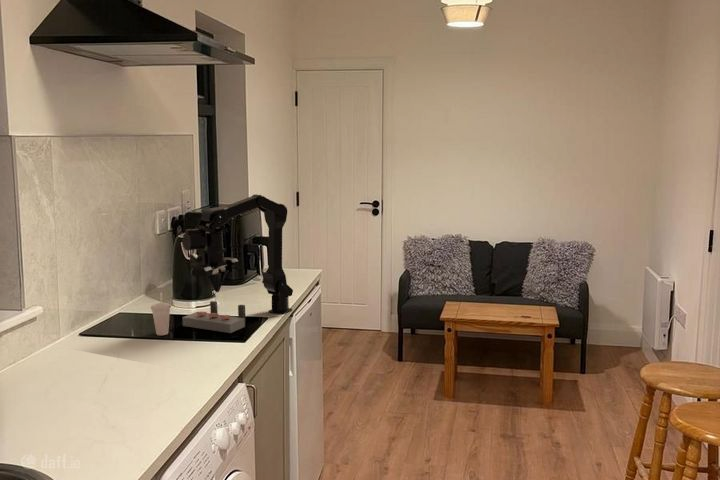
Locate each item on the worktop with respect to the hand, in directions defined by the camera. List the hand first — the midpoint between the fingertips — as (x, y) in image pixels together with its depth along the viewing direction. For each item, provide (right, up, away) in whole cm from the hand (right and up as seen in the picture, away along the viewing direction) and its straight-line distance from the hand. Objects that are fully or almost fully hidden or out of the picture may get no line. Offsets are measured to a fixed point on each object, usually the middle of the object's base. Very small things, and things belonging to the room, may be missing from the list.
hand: (216, 291), depth 241 cm
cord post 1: (-3, -10, +10) cm, 15 cm away
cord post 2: (+8, -11, +5) cm, 14 cm away
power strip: (-1, -12, 0) cm, 12 cm away
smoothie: (-16, -13, -8) cm, 23 cm away
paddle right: (+3, -9, -2) cm, 10 cm away
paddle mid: (-1, -9, 0) cm, 9 cm away
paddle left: (-6, -8, +2) cm, 10 cm away
